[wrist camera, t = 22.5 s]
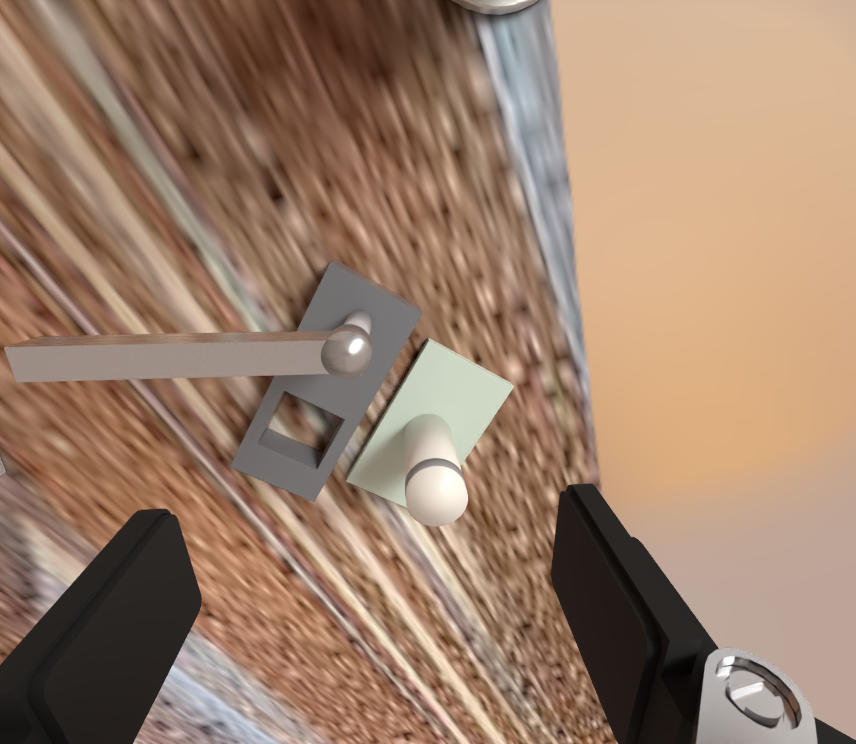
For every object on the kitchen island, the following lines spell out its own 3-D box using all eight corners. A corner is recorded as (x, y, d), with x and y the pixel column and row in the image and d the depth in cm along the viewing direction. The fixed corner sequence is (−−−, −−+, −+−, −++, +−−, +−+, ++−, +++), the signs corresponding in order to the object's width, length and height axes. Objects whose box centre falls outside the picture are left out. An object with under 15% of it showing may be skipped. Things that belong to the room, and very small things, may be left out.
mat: (428, 337, 37) (429, 340, 36) (510, 382, 39) (513, 386, 38) (347, 475, 40) (346, 481, 40) (426, 510, 42) (426, 516, 42)
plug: (418, 405, 37) (425, 463, 28) (459, 425, 38) (480, 488, 29) (394, 444, 39) (393, 512, 29) (436, 463, 40) (448, 535, 30)
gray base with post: (335, 259, 34) (312, 270, 24) (419, 307, 36) (428, 334, 26) (241, 449, 39) (191, 520, 29) (319, 483, 40) (296, 560, 31)
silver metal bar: (371, 323, 25) (368, 332, 23) (373, 366, 26) (371, 379, 24) (38, 329, 24) (1, 340, 22) (52, 374, 25) (18, 389, 23)
